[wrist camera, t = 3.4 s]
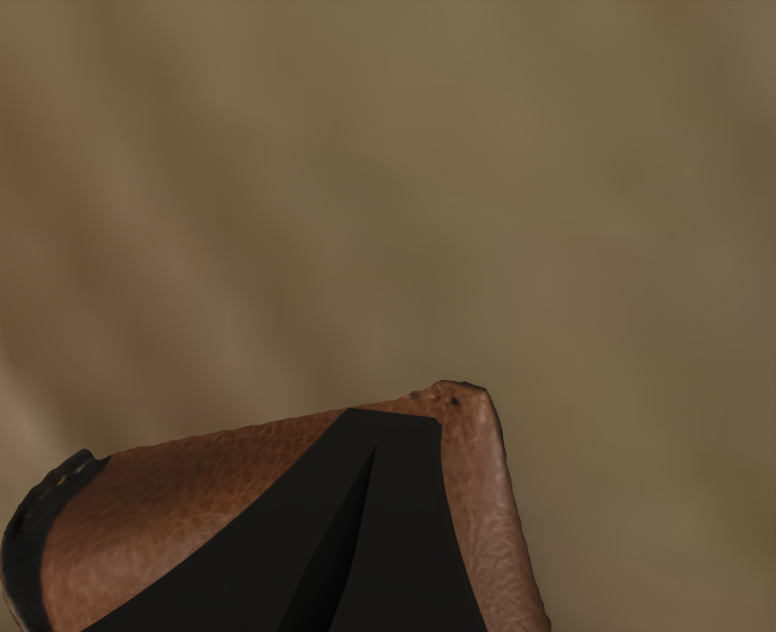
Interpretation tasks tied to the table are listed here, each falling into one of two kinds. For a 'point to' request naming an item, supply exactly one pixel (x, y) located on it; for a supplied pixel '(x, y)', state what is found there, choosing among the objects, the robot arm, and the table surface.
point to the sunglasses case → (233, 495)
